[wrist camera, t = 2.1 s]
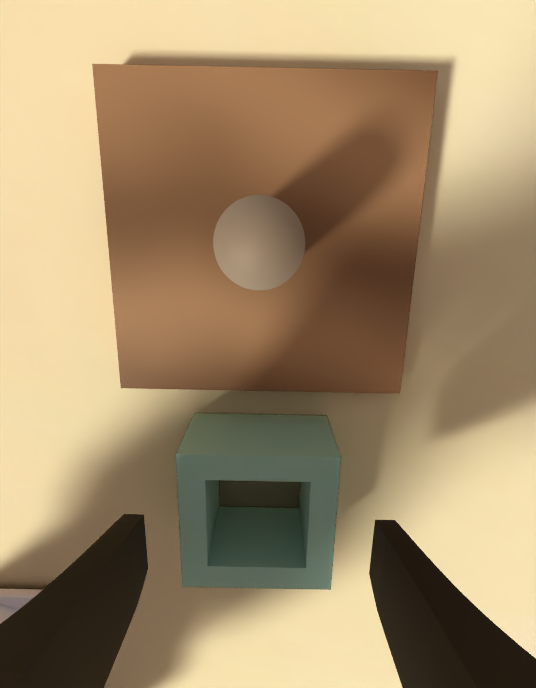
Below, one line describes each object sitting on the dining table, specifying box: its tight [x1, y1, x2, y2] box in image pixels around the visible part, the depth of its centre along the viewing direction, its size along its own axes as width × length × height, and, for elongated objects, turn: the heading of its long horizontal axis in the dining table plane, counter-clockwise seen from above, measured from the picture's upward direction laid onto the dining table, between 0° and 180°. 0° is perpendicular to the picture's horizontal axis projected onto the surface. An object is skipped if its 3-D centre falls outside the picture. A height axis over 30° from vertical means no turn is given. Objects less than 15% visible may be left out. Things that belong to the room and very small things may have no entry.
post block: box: [92, 64, 438, 393], centre depth 10 cm, size 10×10×5 cm
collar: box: [176, 413, 341, 590], centre depth 14 cm, size 5×5×3 cm
